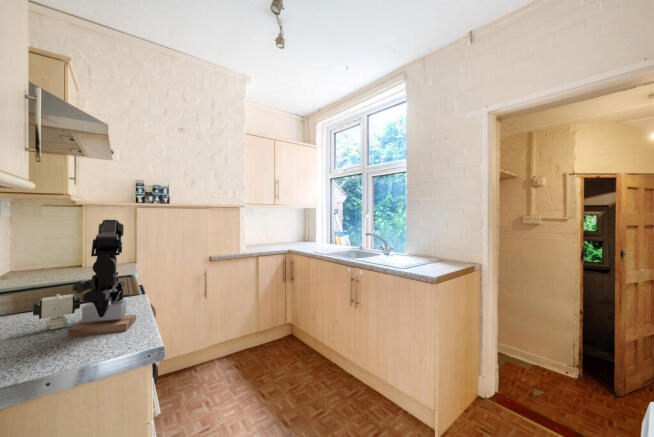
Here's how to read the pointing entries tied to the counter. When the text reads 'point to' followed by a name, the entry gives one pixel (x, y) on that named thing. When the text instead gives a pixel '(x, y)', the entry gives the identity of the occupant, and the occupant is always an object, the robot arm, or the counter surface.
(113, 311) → the housing
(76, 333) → the walnut stand
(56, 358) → the counter surface
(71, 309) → the pneumatic valve
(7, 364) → the counter surface
